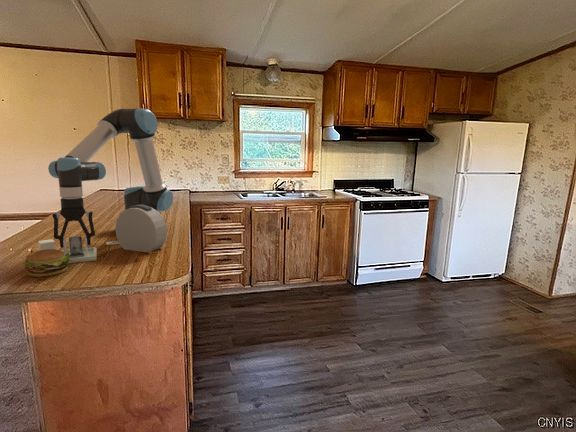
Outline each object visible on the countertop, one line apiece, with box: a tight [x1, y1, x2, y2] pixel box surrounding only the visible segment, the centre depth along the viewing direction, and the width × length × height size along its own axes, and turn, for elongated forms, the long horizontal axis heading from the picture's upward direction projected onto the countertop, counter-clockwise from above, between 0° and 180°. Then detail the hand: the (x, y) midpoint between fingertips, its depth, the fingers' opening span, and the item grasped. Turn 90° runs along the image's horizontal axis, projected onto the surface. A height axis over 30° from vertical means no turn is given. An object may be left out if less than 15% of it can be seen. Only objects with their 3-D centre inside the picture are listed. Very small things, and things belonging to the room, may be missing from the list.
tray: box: [60, 246, 98, 264], centre depth 140 cm, size 14×14×2 cm
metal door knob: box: [68, 235, 84, 258], centre depth 139 cm, size 5×5×8 cm
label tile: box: [106, 240, 120, 246], centre depth 162 cm, size 6×4×1 cm, turn 118°
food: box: [22, 248, 70, 278], centre depth 123 cm, size 14×14×8 cm
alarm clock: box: [114, 205, 168, 253], centre depth 153 cm, size 21×8×20 cm, turn 74°
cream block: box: [37, 238, 57, 251], centre depth 145 cm, size 5×5×5 cm
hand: (76, 254), depth 140 cm, fingers open, 7 cm apart
